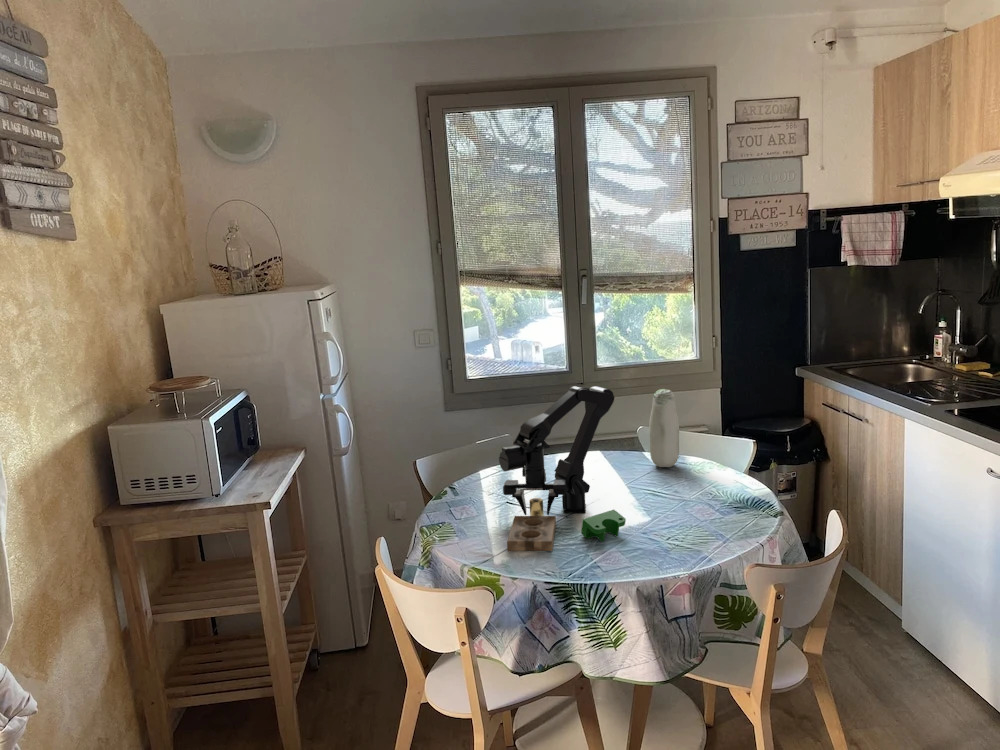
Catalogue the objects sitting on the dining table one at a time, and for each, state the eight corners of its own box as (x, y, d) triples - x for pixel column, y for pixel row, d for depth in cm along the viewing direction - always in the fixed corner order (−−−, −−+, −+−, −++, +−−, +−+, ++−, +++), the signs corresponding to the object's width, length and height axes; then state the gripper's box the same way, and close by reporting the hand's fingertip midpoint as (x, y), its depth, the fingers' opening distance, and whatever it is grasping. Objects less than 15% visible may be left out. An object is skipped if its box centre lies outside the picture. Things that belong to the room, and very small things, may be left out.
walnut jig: (556, 525, 214) (555, 516, 214) (552, 551, 197) (551, 541, 196) (515, 525, 216) (514, 515, 215) (507, 551, 199) (507, 541, 198)
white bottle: (648, 462, 266) (647, 386, 260) (677, 462, 264) (676, 385, 259) (651, 471, 256) (650, 393, 250) (681, 470, 255) (680, 392, 249)
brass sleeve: (544, 516, 221) (543, 497, 220) (543, 522, 217) (542, 502, 216) (531, 516, 222) (530, 497, 221) (529, 522, 218) (528, 502, 217)
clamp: (597, 556, 203) (591, 534, 198) (584, 544, 208) (577, 522, 203) (630, 531, 207) (625, 509, 202) (616, 520, 211) (611, 498, 206)
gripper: (567, 455, 223) (569, 504, 226) (506, 456, 225) (509, 504, 228) (565, 467, 212) (567, 518, 215) (501, 468, 215) (504, 518, 218)
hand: (536, 514), depth 219 cm, fingers open, 6 cm apart
